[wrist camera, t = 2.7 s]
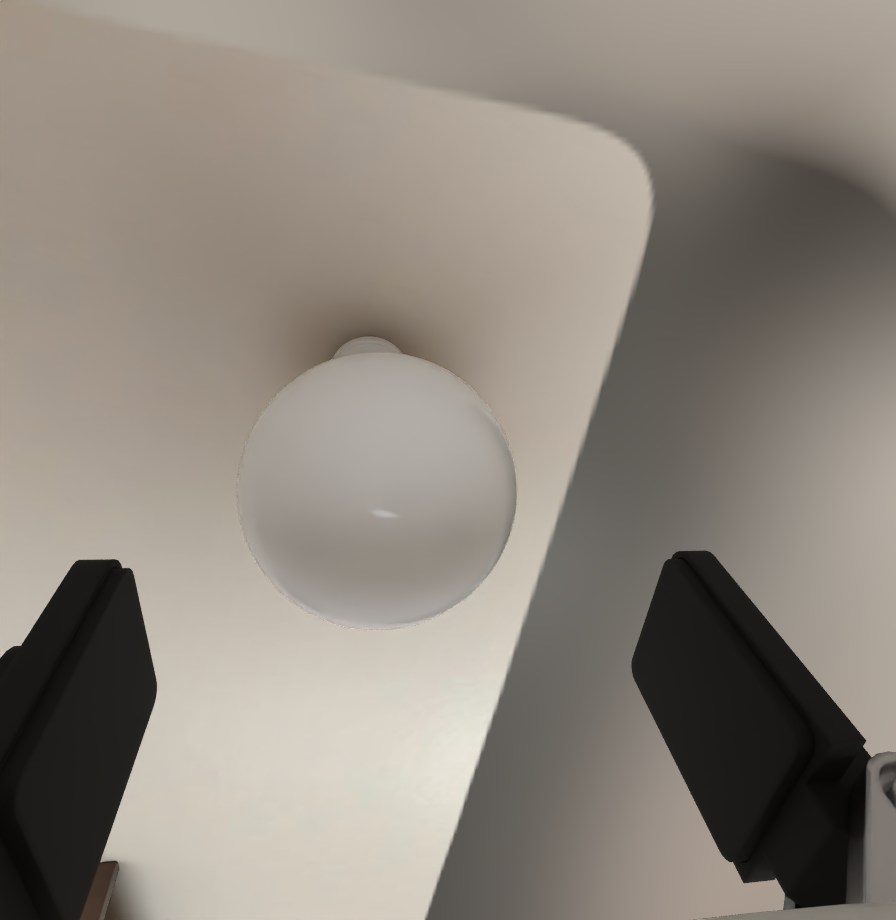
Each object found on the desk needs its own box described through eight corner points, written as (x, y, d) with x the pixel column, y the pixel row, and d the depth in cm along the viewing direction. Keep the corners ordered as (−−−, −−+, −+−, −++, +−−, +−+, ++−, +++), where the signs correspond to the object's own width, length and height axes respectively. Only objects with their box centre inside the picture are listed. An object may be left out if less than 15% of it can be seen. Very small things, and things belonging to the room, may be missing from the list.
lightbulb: (350, 477, 23) (354, 734, 13) (232, 346, 20) (129, 561, 10) (491, 386, 22) (604, 595, 12) (391, 233, 19) (440, 356, 9)
